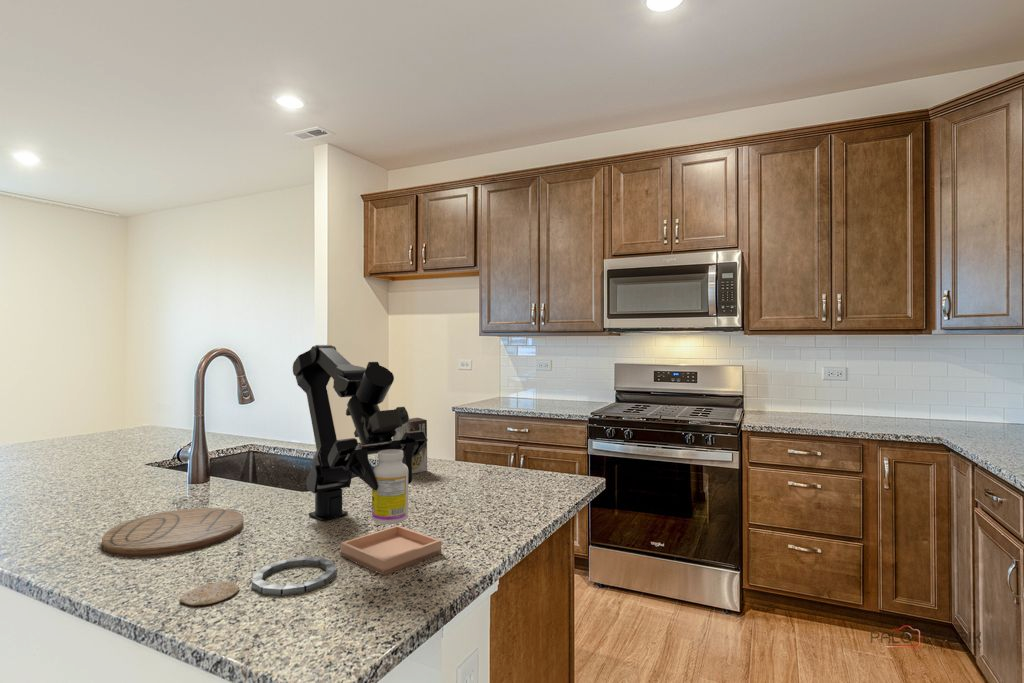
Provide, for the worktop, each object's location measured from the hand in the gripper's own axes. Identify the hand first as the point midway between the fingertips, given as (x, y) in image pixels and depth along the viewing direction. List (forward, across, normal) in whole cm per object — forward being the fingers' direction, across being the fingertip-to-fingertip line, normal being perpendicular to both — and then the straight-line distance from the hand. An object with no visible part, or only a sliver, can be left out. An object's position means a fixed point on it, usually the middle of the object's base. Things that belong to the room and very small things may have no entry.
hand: (393, 485), depth 102 cm
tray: (+9, 0, +10) cm, 13 cm away
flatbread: (+7, -30, +13) cm, 33 cm away
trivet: (-18, -29, +38) cm, 51 cm away
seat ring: (+8, -17, +11) cm, 22 cm away
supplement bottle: (+4, 0, +6) cm, 7 cm away
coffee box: (-31, +36, +51) cm, 70 cm away
